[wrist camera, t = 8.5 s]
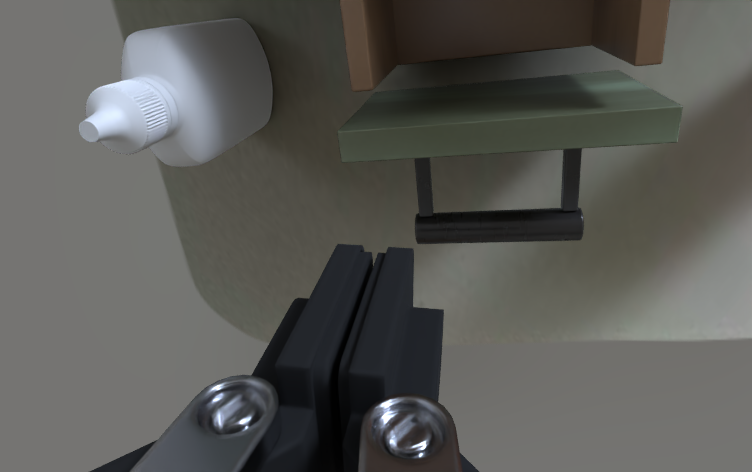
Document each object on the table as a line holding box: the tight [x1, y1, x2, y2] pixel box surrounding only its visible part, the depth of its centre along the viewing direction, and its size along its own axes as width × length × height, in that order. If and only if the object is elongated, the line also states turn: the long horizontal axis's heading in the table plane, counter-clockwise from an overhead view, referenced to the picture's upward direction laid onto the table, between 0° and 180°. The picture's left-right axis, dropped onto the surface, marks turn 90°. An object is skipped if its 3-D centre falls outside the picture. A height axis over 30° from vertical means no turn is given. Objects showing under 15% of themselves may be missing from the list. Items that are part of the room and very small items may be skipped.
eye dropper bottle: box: [79, 18, 273, 167], centre depth 21 cm, size 4×6×12 cm
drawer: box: [337, 0, 683, 244], centre depth 19 cm, size 18×11×8 cm, turn 6°
